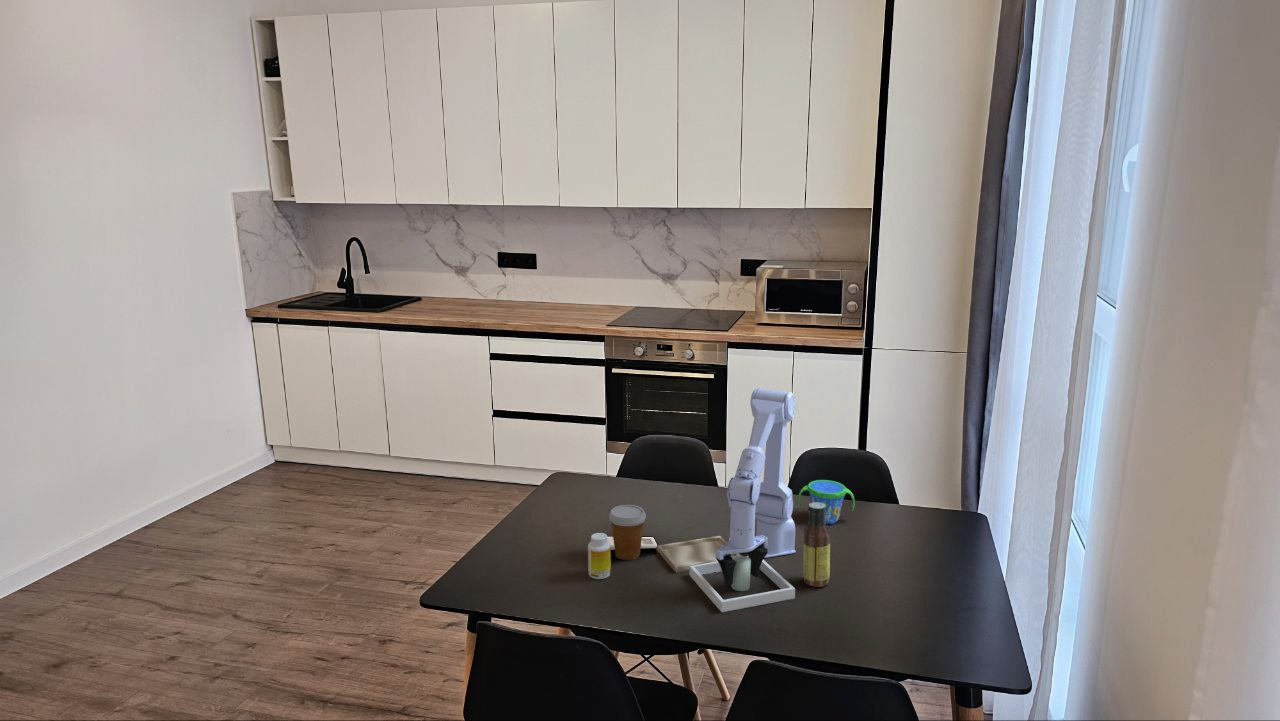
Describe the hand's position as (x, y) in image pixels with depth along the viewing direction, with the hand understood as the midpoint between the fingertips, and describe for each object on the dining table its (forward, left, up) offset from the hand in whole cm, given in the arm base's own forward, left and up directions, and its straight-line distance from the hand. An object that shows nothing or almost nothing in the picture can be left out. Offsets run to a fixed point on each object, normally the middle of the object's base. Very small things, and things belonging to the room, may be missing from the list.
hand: (740, 579), depth 198 cm
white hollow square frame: (0, 0, -2) cm, 2 cm away
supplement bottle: (+30, -17, -2) cm, 35 cm away
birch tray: (+3, -18, -2) cm, 18 cm away
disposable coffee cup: (+20, -25, -2) cm, 32 cm away
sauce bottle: (-18, +4, -2) cm, 19 cm away
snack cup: (-40, -27, -2) cm, 48 cm away
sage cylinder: (0, 0, -2) cm, 2 cm away
